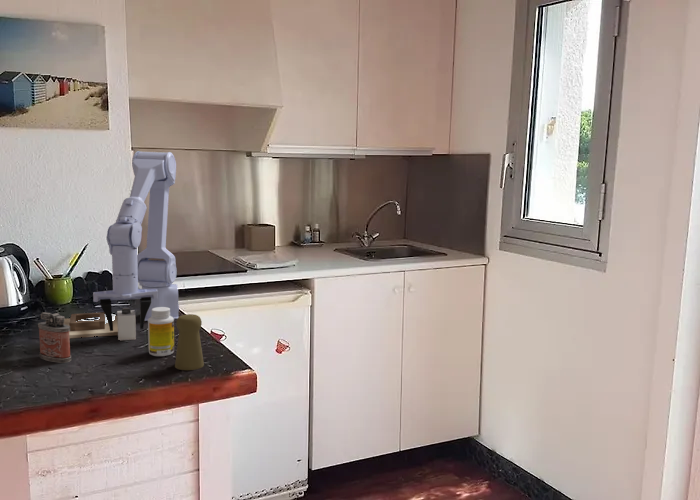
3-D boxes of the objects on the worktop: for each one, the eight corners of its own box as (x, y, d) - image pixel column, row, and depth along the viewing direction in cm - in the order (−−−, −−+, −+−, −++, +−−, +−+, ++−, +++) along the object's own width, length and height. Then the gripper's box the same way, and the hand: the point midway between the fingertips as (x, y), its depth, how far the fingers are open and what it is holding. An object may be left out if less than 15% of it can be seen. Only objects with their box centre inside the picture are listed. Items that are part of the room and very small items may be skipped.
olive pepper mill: (200, 370, 139) (199, 319, 137) (171, 369, 139) (170, 318, 138) (206, 361, 145) (206, 312, 143) (179, 360, 145) (178, 311, 143)
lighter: (75, 359, 144) (73, 314, 142) (62, 363, 141) (60, 318, 139) (48, 353, 147) (46, 309, 146) (35, 357, 144) (33, 313, 143)
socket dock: (117, 318, 177) (116, 308, 177) (118, 335, 163) (117, 324, 162) (59, 321, 173) (59, 311, 172) (55, 339, 158) (54, 327, 157)
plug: (135, 333, 164) (134, 306, 163) (136, 339, 160) (135, 310, 159) (118, 334, 163) (117, 306, 162) (118, 340, 158) (117, 312, 157)
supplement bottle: (176, 355, 149) (176, 310, 147) (151, 358, 146) (150, 313, 144) (171, 348, 153) (171, 305, 152) (146, 351, 151) (145, 307, 149)
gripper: (92, 278, 153) (94, 335, 155) (158, 275, 158) (159, 331, 160) (92, 272, 159) (94, 327, 161) (156, 269, 164) (157, 323, 166)
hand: (126, 328), depth 161 cm, fingers open, 6 cm apart
